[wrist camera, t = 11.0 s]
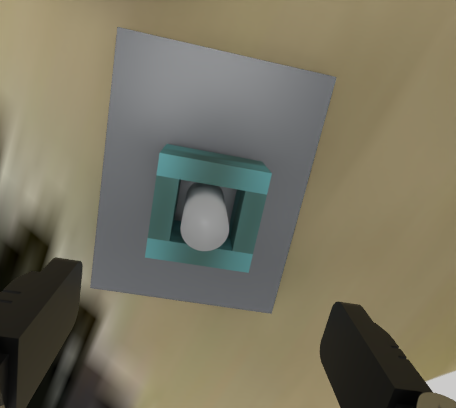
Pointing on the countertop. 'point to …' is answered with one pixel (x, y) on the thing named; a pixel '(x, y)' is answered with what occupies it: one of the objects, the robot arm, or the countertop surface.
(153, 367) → the countertop surface
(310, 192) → the countertop surface
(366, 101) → the countertop surface
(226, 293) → the shaft stand
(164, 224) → the collar
